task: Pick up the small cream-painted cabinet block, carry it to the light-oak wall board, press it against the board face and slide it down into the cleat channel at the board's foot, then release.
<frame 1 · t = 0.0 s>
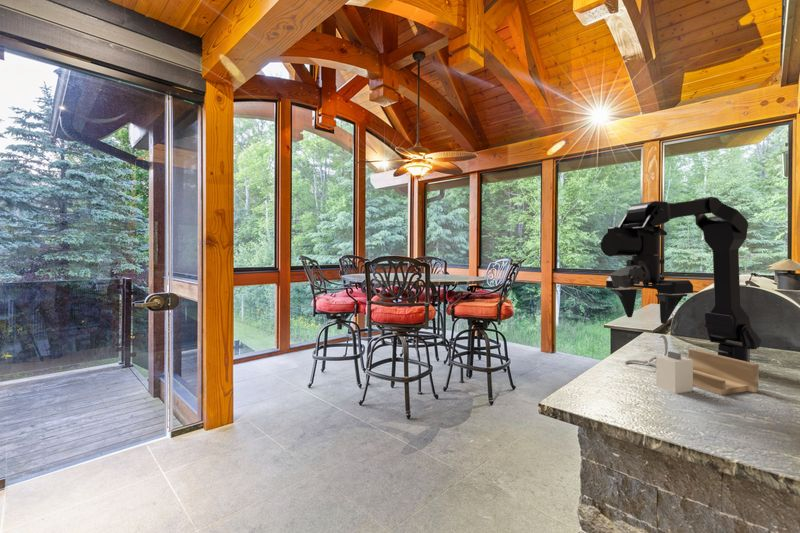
hand: (645, 320, 89), 15 cm above the counter, fingers open, 9 cm apart
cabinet: (674, 388, 84), on the counter
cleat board: (720, 381, 88), on the counter
hook: (653, 364, 104), on the counter
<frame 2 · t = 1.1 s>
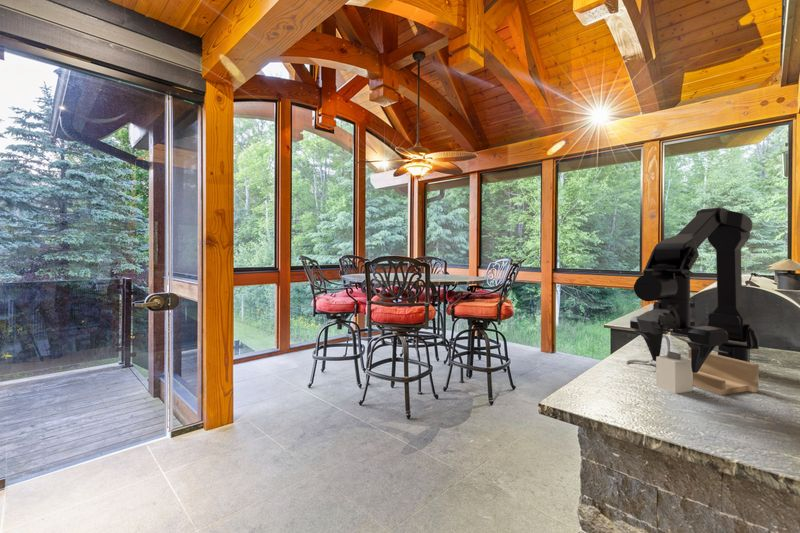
hand: (674, 366, 84), 5 cm above the counter, fingers open, 9 cm apart
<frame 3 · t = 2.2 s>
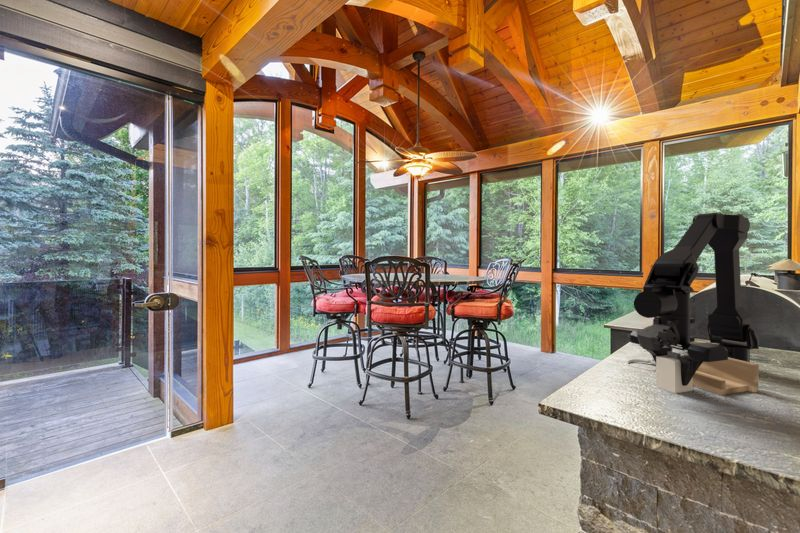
hand: (674, 381, 84), 2 cm above the counter, fingers closed on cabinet, 4 cm apart
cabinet: (674, 388, 84), on the counter, touching gripper
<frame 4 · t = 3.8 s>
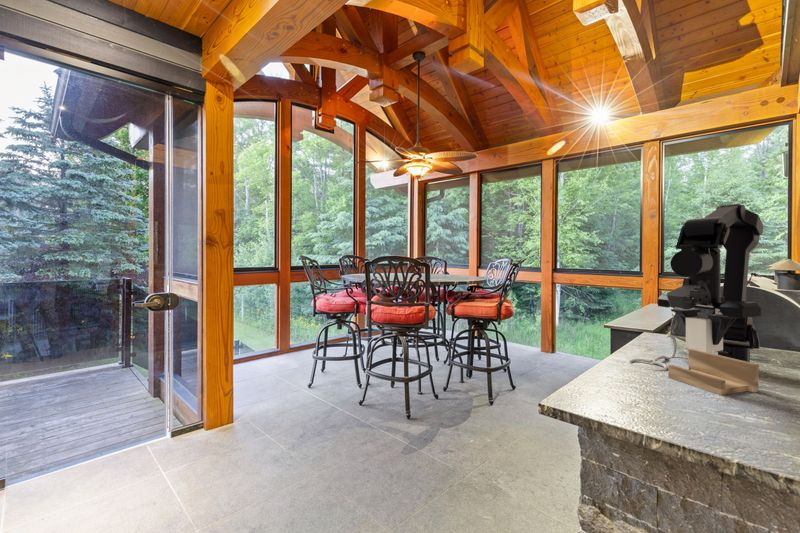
hand: (704, 342, 85), 10 cm above the counter, fingers closed on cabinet, 4 cm apart
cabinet: (704, 348, 85), point 9 cm above the counter, touching gripper
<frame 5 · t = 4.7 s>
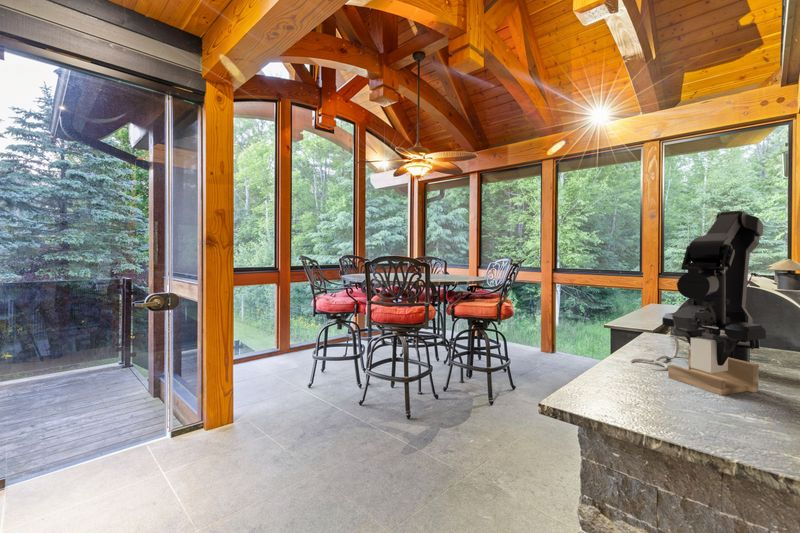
hand: (709, 362, 85), 5 cm above the counter, fingers closed on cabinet, 4 cm apart
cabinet: (708, 368, 85), point 4 cm above the counter, touching gripper
when the fingers open (4 cm above the counter, at t = 5.6 s): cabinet drops 1 cm, resting on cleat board.
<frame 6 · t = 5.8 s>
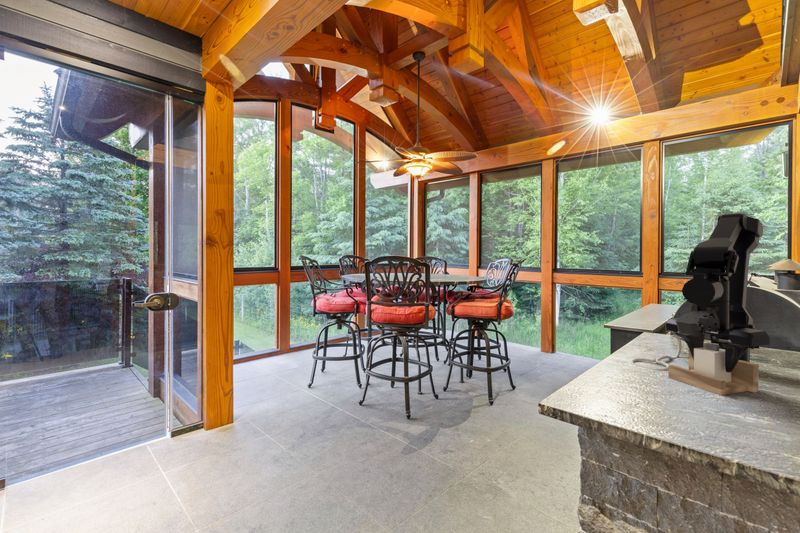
hand: (712, 367, 86), 4 cm above the counter, fingers open, 6 cm apart
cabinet: (712, 379, 86), point 1 cm above the counter, touching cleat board
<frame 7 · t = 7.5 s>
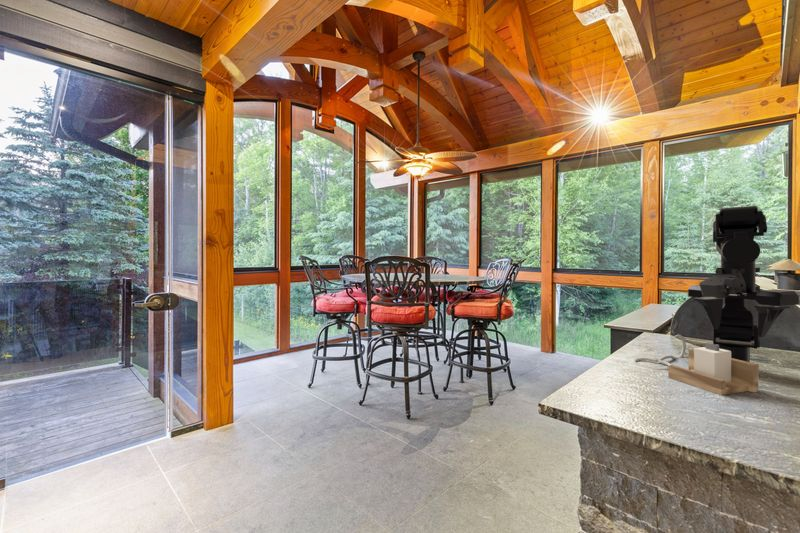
hand: (737, 332, 84), 12 cm above the counter, fingers open, 9 cm apart
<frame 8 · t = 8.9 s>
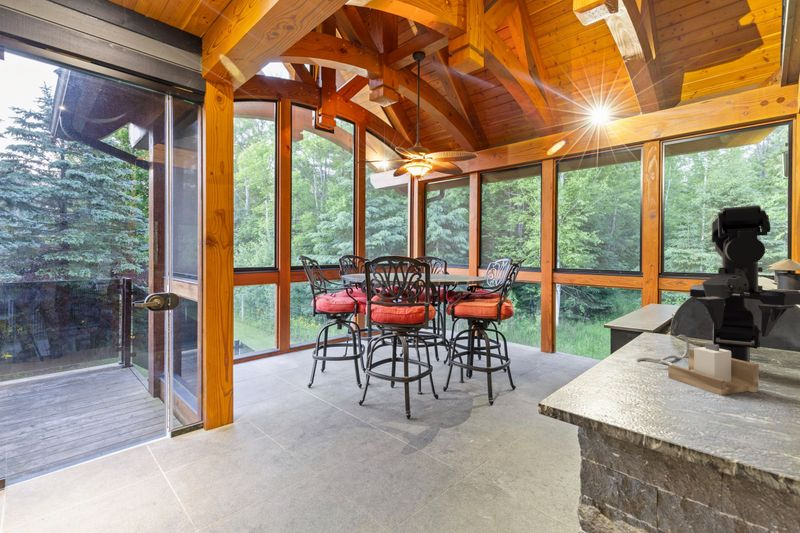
hand: (740, 332, 83), 13 cm above the counter, fingers open, 9 cm apart
at the end: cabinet inside the target area on the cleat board (0.7 cm from its centre), point 1.2 cm above the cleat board's base; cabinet tilted 0°; the gripper is holding nothing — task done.
